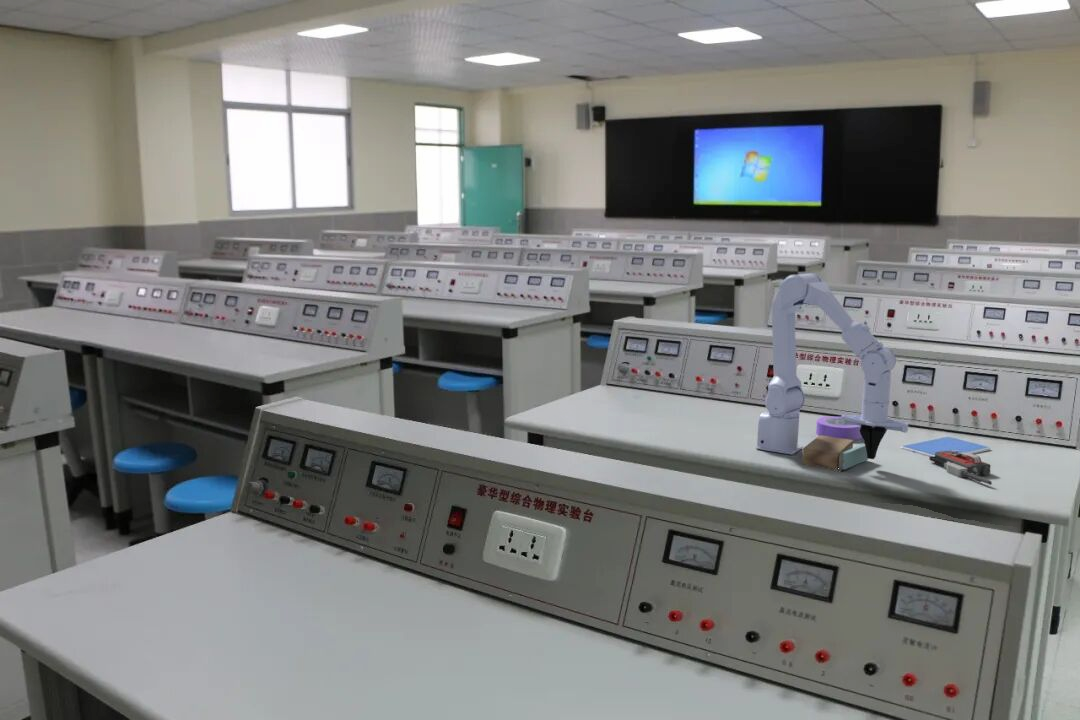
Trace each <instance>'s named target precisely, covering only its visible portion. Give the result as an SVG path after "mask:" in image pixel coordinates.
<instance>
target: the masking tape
mask: <svg viewBox="0 0 1080 720" xmlns="http://www.w3.org/2000/svg"><path fill="white" fill-rule="evenodd" d="M860 429H861V426H858V425H850V424H841V416H822V417H819V418H817V419H816V427H815V431H816V432H815V433H816V435H817V436H820V435H822V436H829V437H836V438H842V439H849V440H853V441H857V439H858V440H861V439H863V438H862V436H861V434H860ZM860 438H861V439H860Z"/></svg>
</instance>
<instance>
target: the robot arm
mask: <svg viewBox="0 0 1080 720" xmlns="http://www.w3.org/2000/svg"><path fill="white" fill-rule="evenodd" d="M804 304H807V305H811V306H816V307H818V308H820V309H821V310H822V311H823V312H824V313H825V315H827V316H828V319H830V320H831V321H832V323H834V324H835V325H836V326H837V327H838V328H839V330H841V339H842V341H843V342H844V343H845V344H846V345H847V347H848V348H849V349H850V350H851V351H852V352H853V353H854V355H855V356H856V357H857V358H858V359H859V360H860V364H859V365H860V367H861V371H863V373H864V374H863V376H864V377H863V387H862V388H863V389H862V401H861V414H860V415H855V414H853V415H852V414H842V415H841V416H840V417H841V424H850V425H858V426H861V429H860V434H861V436H862V438H861V439H862V440H863V444H865V446H866V451H867V458H868V460H869V459H870V460H875V459H876V457H877V453H878V449H879V446H880V444H881V442H882V440H883V438H884V436H885V435H886V433H887V431H888V430H889V431H896V432H901V433H908V431H909V422H906V421H905V422H904V421H900V420H899V421H898V420H895V419H889V418H888V416H889V406H890V405H889V403H890V393H891V378H892V370H893V369H894V368H895V366H896V363H897V358H896V354H895V353H894V352H893V350H892V348H889V347H888V346H887V347H886V346H884V343H883V342H881V341H878V339H877V338H876V337H875V336H874V335H873V334H872V332H871V331H870V330H871V328H870V326H869V325H868V324H864V323H863V322H860V321H859V322H857V321H854V320H853V318H852V317H851V316H850V315H849V313H848V312H847V311H846V309H845V308H844V307H843V305H842V304H841V303H840V302H839V300H838V299H837V297H836V296H835V295H834V294H833V292H832V291H831V289H830V287H829V285H828V284H827V283H826V282H825V281H824V280H822V278H821V277H820V275H818V274H816V273H815V272H808V273H807V272H806V273H803V274H790V275H788V276H786V277H785V278H784V279H783V280H782V281H781V282H779V283H778V291H777V293H776V295H775V297H774V300H773V302H772V304H771V324H772V330H771V331H772V358H773V359H772V361H773V362H772V363H773V364H772V365H773V377H772V379H771V380H770V382H769V383H768V386H767V394H766V396H765V399H764V404H765V408H766V410H767V411H768V412H767V411H763V412H761V414H760V416H759V418H758V425H757V442H756V443H757V445H756V447H755V449H756V450H762V451H767V452H772V453H773V452H775V453H779V454H784V455H785V454H786V455H791V456H792V455H795V454H796V453H797V452H799V451H800V450H801V449H803V448H804V447H803V445H799V444H798V441H799V428H800V427H799V425H800V414H801V413H800V409H802V408H803V407H804V405H805V403H806V396H805V395H806V394H805V393H804V390H803V388H802V381H801V379H800V378H799V377H798V376H797V354H796V353H797V350H796V347H797V346H796V345H797V344H796V312H797V311H798V310H799V309H800V308H801V307H803V305H804Z"/></svg>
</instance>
